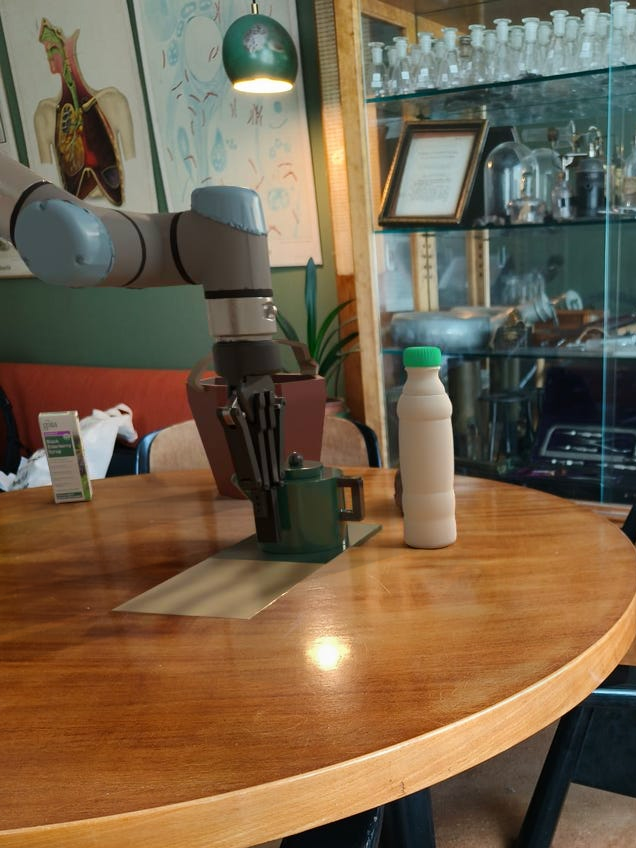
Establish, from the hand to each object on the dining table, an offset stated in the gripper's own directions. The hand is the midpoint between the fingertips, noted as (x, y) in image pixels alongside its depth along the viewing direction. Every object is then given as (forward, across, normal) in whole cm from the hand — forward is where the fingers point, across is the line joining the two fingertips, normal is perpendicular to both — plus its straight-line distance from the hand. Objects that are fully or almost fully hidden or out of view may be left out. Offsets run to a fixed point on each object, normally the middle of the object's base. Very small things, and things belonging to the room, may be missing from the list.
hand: (270, 541), depth 108 cm
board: (+3, 0, +1) cm, 3 cm away
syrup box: (+2, +32, +53) cm, 62 cm away
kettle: (+2, +9, 0) cm, 9 cm away
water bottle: (+4, +14, -16) cm, 22 cm away
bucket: (+2, +44, +22) cm, 49 cm away
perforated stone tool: (+3, +34, -7) cm, 35 cm away
